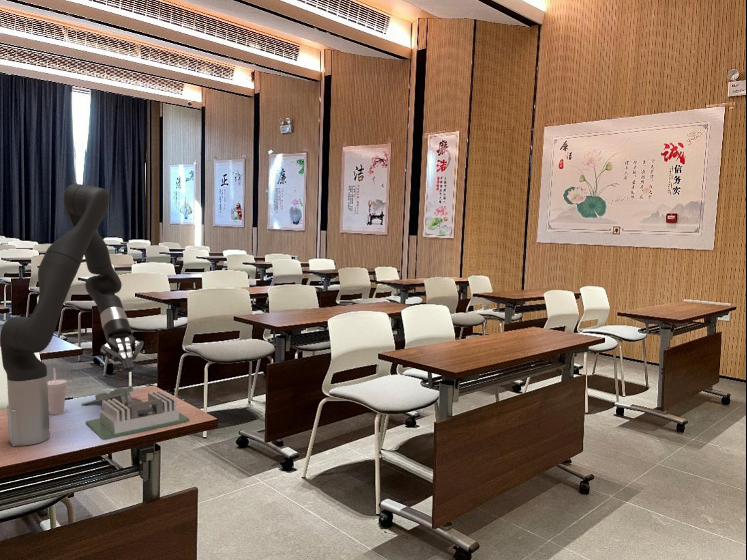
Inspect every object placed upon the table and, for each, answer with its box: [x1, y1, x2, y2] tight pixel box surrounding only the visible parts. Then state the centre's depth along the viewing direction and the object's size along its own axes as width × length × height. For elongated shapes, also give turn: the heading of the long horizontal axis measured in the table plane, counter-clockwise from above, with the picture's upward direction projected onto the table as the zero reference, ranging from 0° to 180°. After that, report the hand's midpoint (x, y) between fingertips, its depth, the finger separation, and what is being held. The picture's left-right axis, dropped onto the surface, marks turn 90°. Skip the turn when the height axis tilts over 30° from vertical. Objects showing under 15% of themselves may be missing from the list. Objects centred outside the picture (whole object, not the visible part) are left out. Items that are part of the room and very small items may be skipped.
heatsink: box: [85, 390, 190, 441], centre depth 172 cm, size 24×17×8 cm
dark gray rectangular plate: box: [125, 399, 153, 414], centre depth 171 cm, size 4×1×12 cm
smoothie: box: [47, 367, 68, 416], centre depth 181 cm, size 6×6×14 cm
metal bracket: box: [81, 385, 139, 406], centre depth 194 cm, size 14×6×15 cm
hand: (129, 370), depth 176 cm, fingers closed
